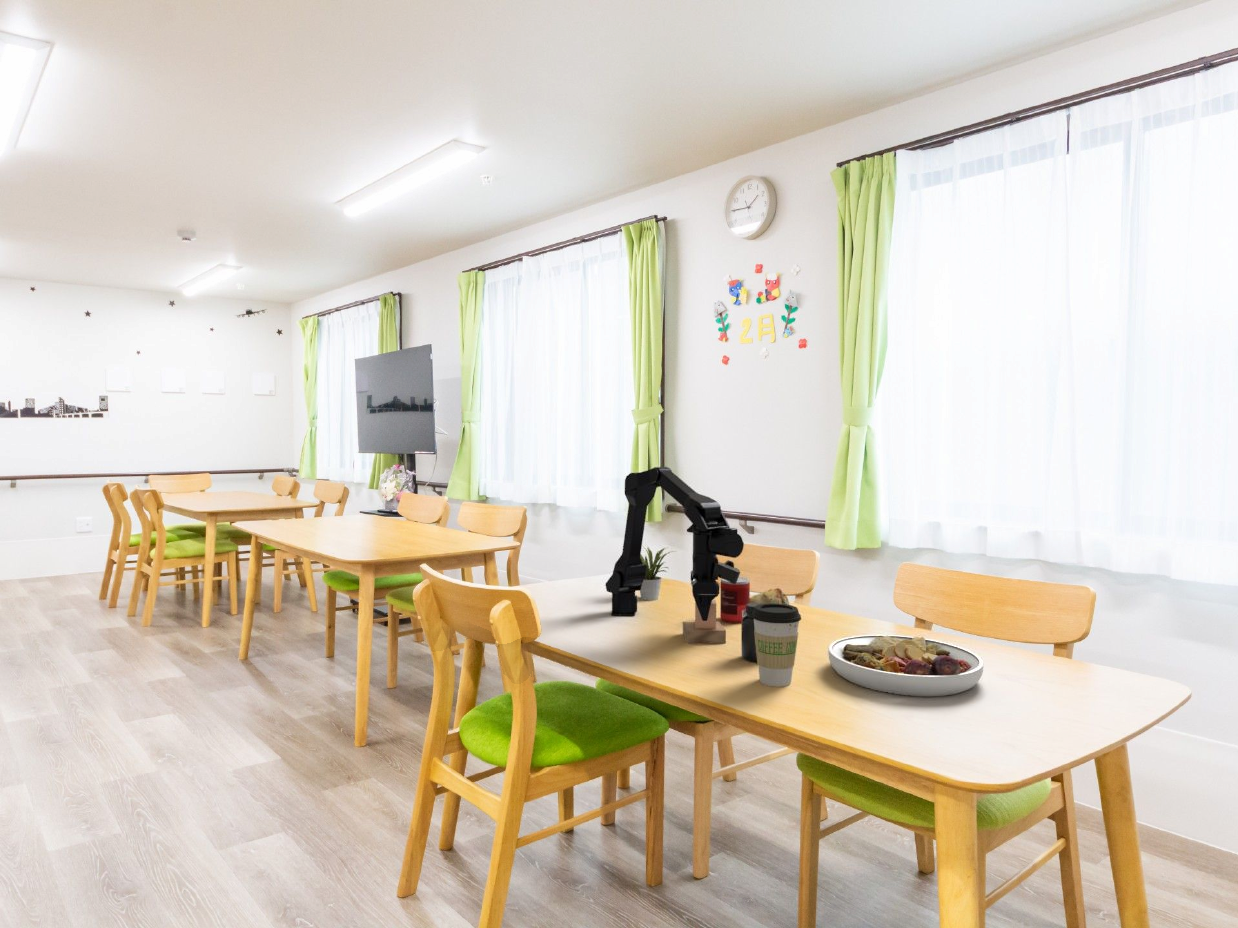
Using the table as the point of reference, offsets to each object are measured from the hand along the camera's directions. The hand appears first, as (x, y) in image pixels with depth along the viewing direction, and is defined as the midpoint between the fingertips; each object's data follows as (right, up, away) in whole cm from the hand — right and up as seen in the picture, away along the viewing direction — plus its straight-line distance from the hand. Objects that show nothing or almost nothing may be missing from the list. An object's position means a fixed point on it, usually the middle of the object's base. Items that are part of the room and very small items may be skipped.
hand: (703, 616), depth 191 cm
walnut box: (0, -6, 0) cm, 6 cm away
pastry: (+20, -5, +23) cm, 31 cm away
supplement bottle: (+10, -6, -16) cm, 20 cm away
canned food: (+10, -5, +19) cm, 22 cm away
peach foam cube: (0, -2, 0) cm, 2 cm away
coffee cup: (+11, -7, -32) cm, 35 cm away
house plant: (-10, -4, +45) cm, 46 cm away
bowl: (+38, -7, -28) cm, 48 cm away
